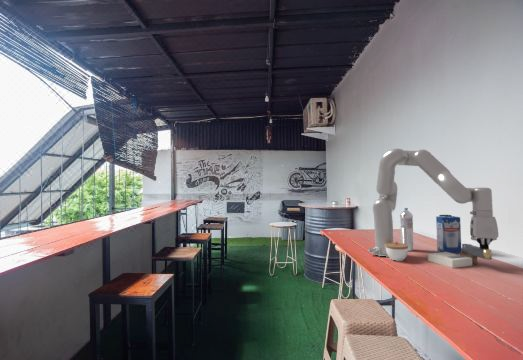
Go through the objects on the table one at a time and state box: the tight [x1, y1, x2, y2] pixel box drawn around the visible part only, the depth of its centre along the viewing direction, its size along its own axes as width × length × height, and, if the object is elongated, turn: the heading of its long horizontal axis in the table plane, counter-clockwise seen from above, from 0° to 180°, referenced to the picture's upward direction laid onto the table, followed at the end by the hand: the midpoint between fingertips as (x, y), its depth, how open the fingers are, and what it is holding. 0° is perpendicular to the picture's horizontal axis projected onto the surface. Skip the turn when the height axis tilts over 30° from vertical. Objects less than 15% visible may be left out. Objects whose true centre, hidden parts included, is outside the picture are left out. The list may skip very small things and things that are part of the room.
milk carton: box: [435, 215, 462, 254], centre depth 166 cm, size 10×6×20 cm, turn 88°
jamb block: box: [458, 251, 478, 266], centre depth 143 cm, size 4×6×5 cm, turn 15°
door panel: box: [427, 252, 473, 269], centre depth 144 cm, size 12×14×4 cm
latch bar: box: [461, 243, 493, 261], centre depth 137 cm, size 16×4×4 cm, turn 3°
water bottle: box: [399, 207, 415, 252], centre depth 173 cm, size 7×7×25 cm
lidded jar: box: [386, 241, 409, 262], centre depth 152 cm, size 11×11×9 cm
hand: (484, 252), depth 137 cm, fingers closed
